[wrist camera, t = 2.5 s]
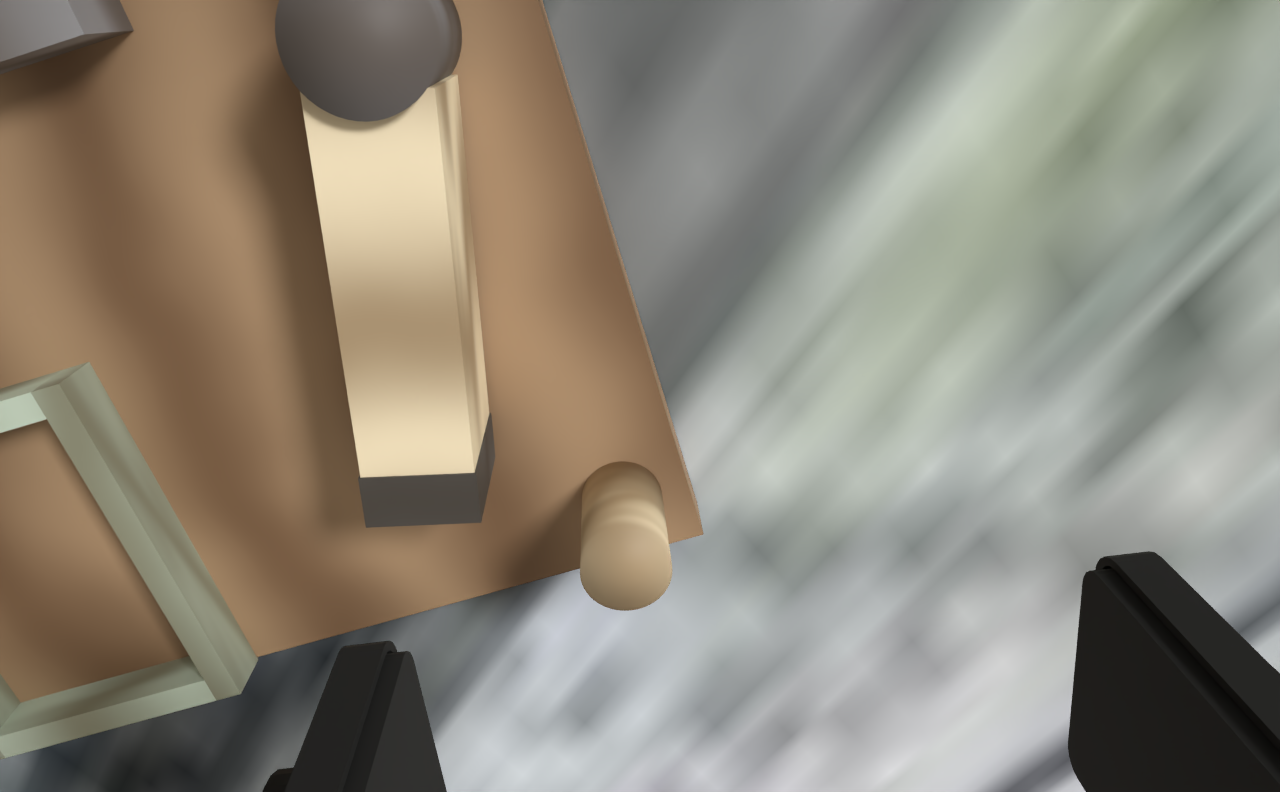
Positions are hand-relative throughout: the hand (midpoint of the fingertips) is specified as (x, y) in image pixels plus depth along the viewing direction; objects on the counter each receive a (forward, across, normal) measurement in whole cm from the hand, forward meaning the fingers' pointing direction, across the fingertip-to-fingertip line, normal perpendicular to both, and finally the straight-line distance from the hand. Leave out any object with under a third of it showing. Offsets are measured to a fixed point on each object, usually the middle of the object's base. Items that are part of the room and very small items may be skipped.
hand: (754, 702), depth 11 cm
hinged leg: (+16, +6, -3) cm, 17 cm away
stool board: (+18, +13, 0) cm, 22 cm away
